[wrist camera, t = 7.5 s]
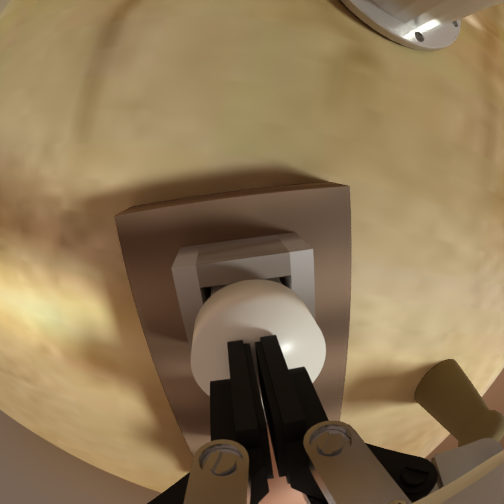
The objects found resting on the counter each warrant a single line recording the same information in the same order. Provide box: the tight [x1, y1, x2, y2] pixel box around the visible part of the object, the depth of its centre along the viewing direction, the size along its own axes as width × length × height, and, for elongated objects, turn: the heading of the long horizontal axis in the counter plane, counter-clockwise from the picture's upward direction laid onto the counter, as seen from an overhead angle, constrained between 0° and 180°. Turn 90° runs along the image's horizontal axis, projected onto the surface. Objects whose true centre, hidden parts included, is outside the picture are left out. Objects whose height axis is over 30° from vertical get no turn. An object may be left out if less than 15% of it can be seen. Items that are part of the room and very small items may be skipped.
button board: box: [115, 182, 351, 457], centre depth 18 cm, size 28×12×6 cm, turn 6°
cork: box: [415, 359, 504, 447], centre depth 19 cm, size 6×6×11 cm
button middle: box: [260, 424, 307, 504], centre depth 13 cm, size 5×5×5 cm
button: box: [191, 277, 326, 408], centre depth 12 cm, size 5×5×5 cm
